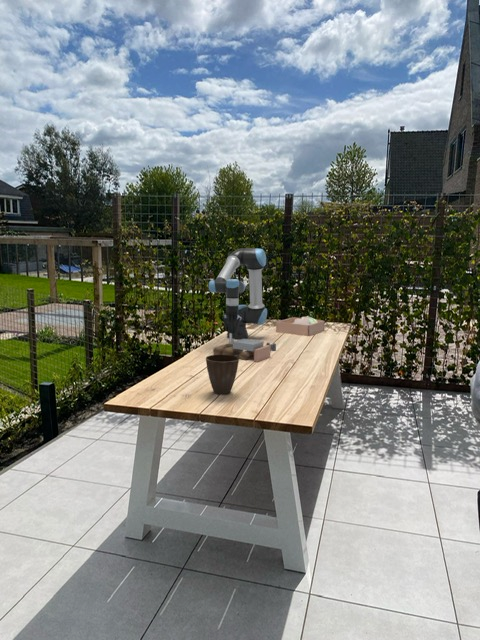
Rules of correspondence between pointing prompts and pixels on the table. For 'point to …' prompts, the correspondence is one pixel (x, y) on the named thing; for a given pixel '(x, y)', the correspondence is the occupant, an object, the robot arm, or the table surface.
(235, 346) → the slab
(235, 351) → the roller
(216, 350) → the roller
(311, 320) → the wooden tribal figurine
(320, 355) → the table surface
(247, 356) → the roller
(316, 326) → the planter
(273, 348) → the rack
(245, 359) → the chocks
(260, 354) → the block
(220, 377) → the plant pot
